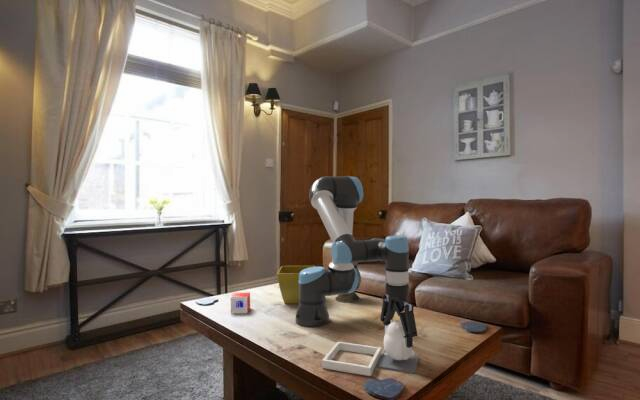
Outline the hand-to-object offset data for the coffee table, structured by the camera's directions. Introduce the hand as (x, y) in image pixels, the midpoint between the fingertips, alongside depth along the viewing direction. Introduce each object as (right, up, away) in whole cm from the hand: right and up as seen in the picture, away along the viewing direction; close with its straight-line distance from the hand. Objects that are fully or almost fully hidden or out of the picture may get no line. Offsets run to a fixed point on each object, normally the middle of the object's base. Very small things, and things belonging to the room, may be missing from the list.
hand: (398, 350), depth 120 cm
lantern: (-11, -4, +75) cm, 76 cm away
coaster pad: (0, -4, 0) cm, 4 cm away
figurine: (0, -3, 0) cm, 3 cm away
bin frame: (-15, -4, +2) cm, 16 cm away
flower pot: (-38, -4, +74) cm, 83 cm away
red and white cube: (-65, -5, +58) cm, 87 cm away
